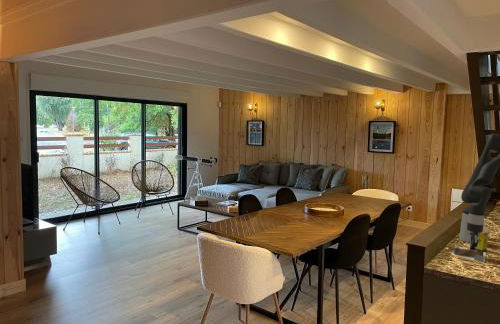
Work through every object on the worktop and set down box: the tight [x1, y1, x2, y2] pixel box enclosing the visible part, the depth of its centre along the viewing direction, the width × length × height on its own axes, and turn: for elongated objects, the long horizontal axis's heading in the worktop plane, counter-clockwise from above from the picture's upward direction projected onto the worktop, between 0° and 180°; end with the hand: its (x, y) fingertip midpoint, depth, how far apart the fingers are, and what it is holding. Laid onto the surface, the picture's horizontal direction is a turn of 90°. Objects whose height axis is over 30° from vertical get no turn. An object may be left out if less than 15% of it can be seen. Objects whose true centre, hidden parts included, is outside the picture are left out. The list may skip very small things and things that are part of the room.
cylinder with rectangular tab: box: [483, 218, 490, 233], centre depth 246 cm, size 9×9×12 cm
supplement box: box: [475, 231, 490, 252], centre depth 217 cm, size 6×6×11 cm
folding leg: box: [452, 246, 485, 257], centre depth 199 cm, size 14×2×4 cm, turn 78°
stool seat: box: [451, 245, 487, 263], centre depth 203 cm, size 21×15×2 cm
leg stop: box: [473, 254, 484, 263], centre depth 192 cm, size 2×4×2 cm, turn 56°
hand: (471, 253), depth 202 cm, fingers closed
